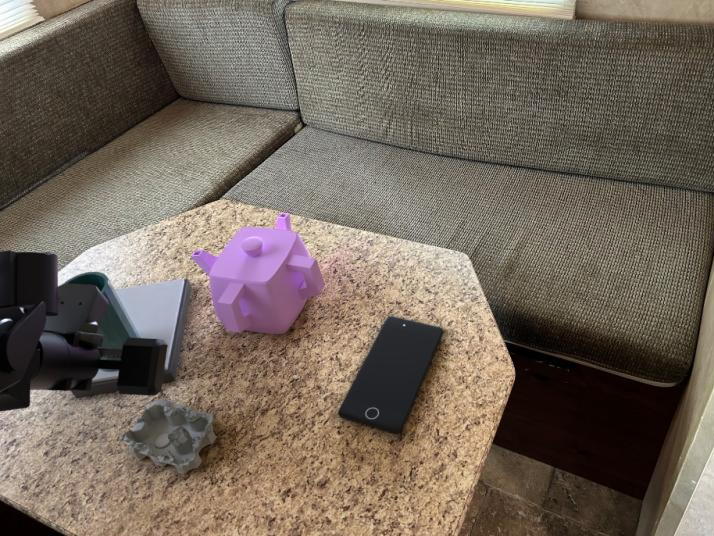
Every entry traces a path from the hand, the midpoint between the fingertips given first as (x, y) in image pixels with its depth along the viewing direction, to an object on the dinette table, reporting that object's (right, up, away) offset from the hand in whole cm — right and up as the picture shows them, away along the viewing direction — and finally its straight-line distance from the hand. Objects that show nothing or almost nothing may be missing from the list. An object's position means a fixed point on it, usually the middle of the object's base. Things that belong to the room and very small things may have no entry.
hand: (113, 365), depth 76 cm
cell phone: (+35, -3, +8) cm, 36 cm away
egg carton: (+7, -11, +2) cm, 13 cm away
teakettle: (+15, +6, +22) cm, 27 cm away
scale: (-4, +1, +17) cm, 18 cm away
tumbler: (-5, -1, +12) cm, 13 cm away
